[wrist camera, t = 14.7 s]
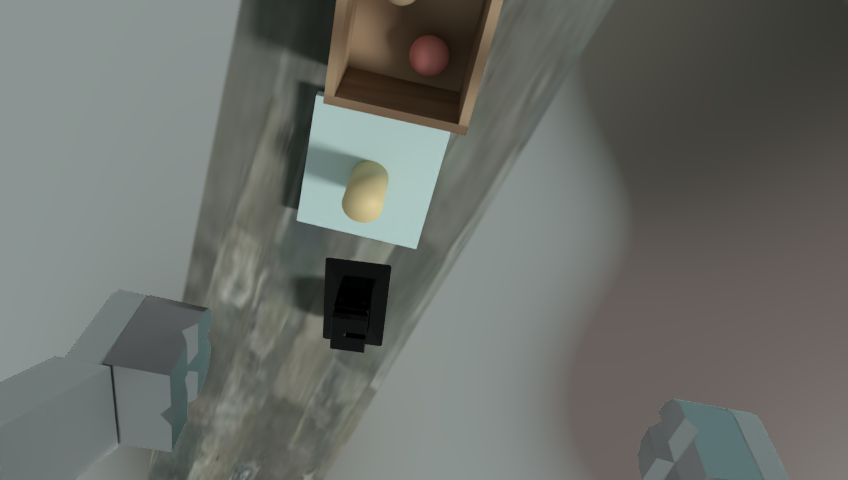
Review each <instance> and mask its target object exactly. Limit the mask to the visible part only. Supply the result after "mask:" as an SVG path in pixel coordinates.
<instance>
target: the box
mask: <svg viewBox="0 0 848 480" xmlns="http://www.w3.org/2000/svg"><path fill="white" fill-rule="evenodd" d="M502 3H503V0H415V1H414V2H413V3H411V4H408V5H404V6H400V5H395V4H393V3H391V2H390V1H389V0H336V7H335V15H334V23H333V30H332V38H331V46H330V53H329V61H328V69H327V76H326V84H325V92H324V99H323V103H324V104H328V105H332V106H337V107H341V108H346V109H350V110H355V111H359V112H364V113H368V114H373V115H377V116H381V117H386V118H390V119H395V120H399V121H404V122H408V123H413V124H417V125H421V126H426V127H430V128H435V129H439V130H444V131H448V132H453V133H457V134H461V135H466V133H467V129H468V125H469V122H470V118H471V115H472V111H473V107H474V104H475V100H476V97H477V93H478V90H479V86H480V82H481V79H482V75H483V72H484V68H485V64H486V61H487V57H488V54H489V50H490V46H491V43H492V39H493V36H494V32H495V29H496V25H497V21H498V18H499V14H500V11H501V7H502ZM425 35H434V36H437V37H439V38H440V39H442V40H443V41H444V42H445V44H446V45H447V47H448V50H449V62H448V65H447V67H446V68H445V69H444V71H443V72H442V73H440V74H439V75H436V76H433V77H425V76H422V75H420V74H418V73H417V72H416V71H415V70H414V69H413V68H412V66H411V63H410V60H409V52H410V49H411V46H412V44H413V43H414V42H415V41H416V40H417V39H418V38H420V37H422V36H425Z"/></svg>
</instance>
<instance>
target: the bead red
mask: <svg viewBox="0 0 848 480" xmlns="http://www.w3.org/2000/svg"><path fill="white" fill-rule="evenodd" d="M409 60H410V63H411V66H412V68H413V69H414V70H415V71H416V72H417V73H418V74H420V75H422V76H425V77H433V76H436V75H439V74H440V73H442V72H443V71H444V69H445V68H446V67H447V65H448V62H449V50H448V47H447V45H446V44H445V42H444V41H443V40H442V39H440V38H439V37H437V36H434V35H425V36H422V37H420V38H418V39H417V40H416V41H415V42H414V43H413V44H412V46H411V49H410V52H409Z"/></svg>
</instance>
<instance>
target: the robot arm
mask: <svg viewBox="0 0 848 480" xmlns="http://www.w3.org/2000/svg"><path fill="white" fill-rule="evenodd" d="M210 327H211V310H210V309H209V308H205V307H201V306H196V305H192V304H187V303H183V302H178V301H173V300H169V299H164V298H160V297H155V296H151V295H150V296H147V295H143V294H139V293H134V292H129V291H125V290H121V289H120V290H118V291H117V292H115V293H113V294H112V295H111V296H110V297H109V299H108V300H107V301H106V303H105V304H104V305H103V307H102V308H101V309H100V311H99V312H98V314H97V315H96V316H95V318H94V319H93V320H92V321H91V323H90V324H89V326H88V327H87V328H86V330H85V331H84V332H83V334H82V335H81V336H80V338H79V339H78V340H77V342H76V343H75V344H74V346H73V347H72V348H71V350H70V351H69V352H68V354H67V355H66V357H65V358H63V357H57V356H54V357H53V358H50V359H48V360H46V361H44V362H42V363H40V364H38V365H36V366H33V367H31V368H29V369H27V370H25V371H23V372H21V373H19V374H17V375H14V376H12V377H10V378H8V379H6V380H4V381H2V382H0V480H75V479H77V478H78V477H79V476H81V475H82V474H83V473H85V472H86V471H87V470H89V469H90V468H91V467H93V466H94V465H95V464H97V463H98V462H99V461H100V460H102V459H103V458H105V457H106V456H107V455H108V454H110V453H111V452H112V451H114V450H115V449H117V448H118V444H122V445H128V446H135V447H141V448H148V449H155V450H162V451H168V452H172V451H173V449H174V447H175V445H176V442H177V440H178V438H179V436H180V434H181V432H182V430H183V427H184V425H185V423H186V421H187V416H188V403H190V402H191V401H193V400H194V399H196V398H197V397H198V395H199V393H200V390H201V388H202V386H203V383H204V380H205V377H206V373H207V370H208V366H209V360H210V351H211V344H210V343H209V341H208V340H207V339H206V338H205V337H206V335H207V333H208V331H209V329H210ZM659 414H660V417H661V421H662V422H660V423H658V424H656V425H653V426H651V427H649V428H648V429H647V431H646V433H645V435H644V436H643V438H642V440H641V444H640V449H639V454H638V457H639V469H640V473H641V477H642V480H790V479H789V477H788V475H787V473H786V471H785V469H784V467H783V465H782V463H781V461H780V459H779V456H778V455H777V452H776V451H775V448H774V446H773V444H772V442H771V440H770V438H769V436H768V435H767V432H766V430H765V428H764V426H763V424H762V422H761V420H760V419H759V418H758V417H757V416H755V414H753V413H748V412H743V411H737V410H732V409H723V408H720V407H714V406H710V405H704V404H699V403H693V402H688V401H683V400H677V399H670V400H669V401H667V402H665V404H664V405H663V406H662V408H661V409H660V411H659Z"/></svg>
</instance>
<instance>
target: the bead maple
mask: <svg viewBox="0 0 848 480" xmlns="http://www.w3.org/2000/svg"><path fill="white" fill-rule="evenodd" d="M389 1H390V2H391V3H393V4H395V5H400V6H404V5H408V4H411V3H413V2H414V1H415V0H389Z"/></svg>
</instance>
